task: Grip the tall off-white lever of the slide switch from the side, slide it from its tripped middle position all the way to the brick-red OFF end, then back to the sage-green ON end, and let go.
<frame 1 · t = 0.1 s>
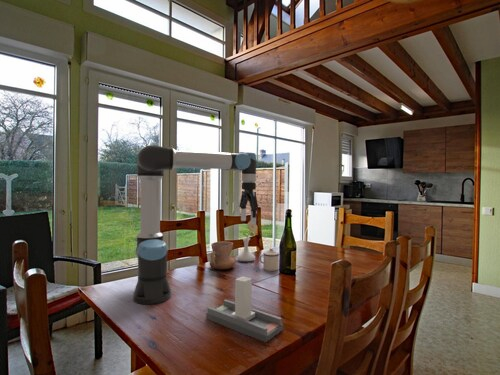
hand: (248, 222, 156), 28 cm above the table, tool pointing down, fingers open, 13 cm apart
teacup with lid: (268, 268, 169), on the table
switch base: (243, 324, 103), on the table
switch lever: (243, 298, 102), point 9 cm above the table, slide at 0.0 cm
ceramic jug: (221, 268, 168), on the table
flower in vase: (247, 260, 186), on the table
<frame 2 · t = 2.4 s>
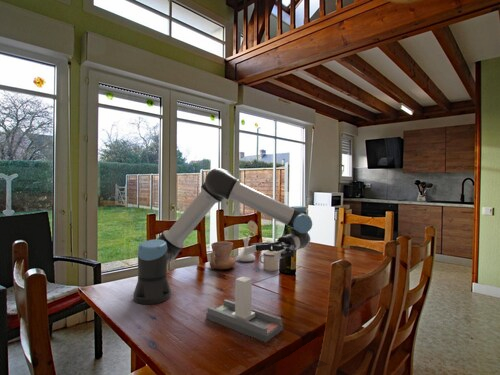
hand: (259, 254, 111), 22 cm above the table, tool horizontal, fingers open, 13 cm apart
nothing on the table moved.
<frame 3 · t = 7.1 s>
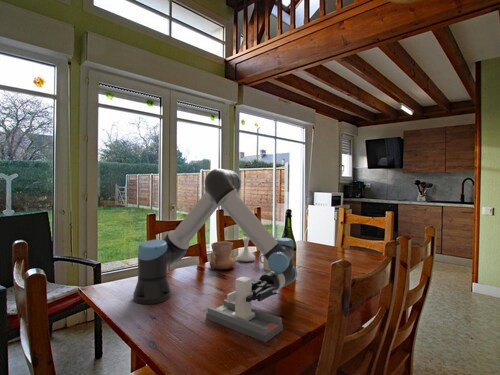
hand: (233, 300, 98), 10 cm above the table, tool horizontal, fingers closed on switch lever, 4 cm apart
switch lever: (243, 298, 102), point 9 cm above the table, slide at 0.0 cm, touching gripper
everything else where it was.
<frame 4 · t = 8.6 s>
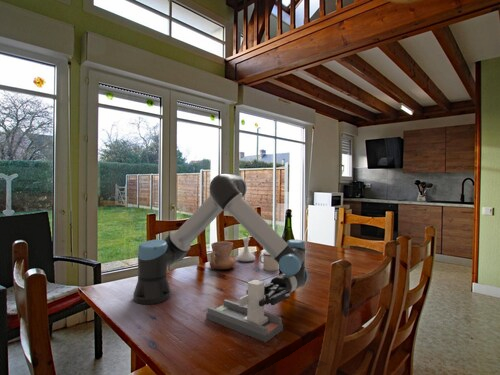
hand: (246, 304, 95), 10 cm above the table, tool horizontal, fingers closed on switch lever, 4 cm apart
switch lever: (255, 302, 99), point 9 cm above the table, slide at 5.3 cm, touching gripper
everything else where it was.
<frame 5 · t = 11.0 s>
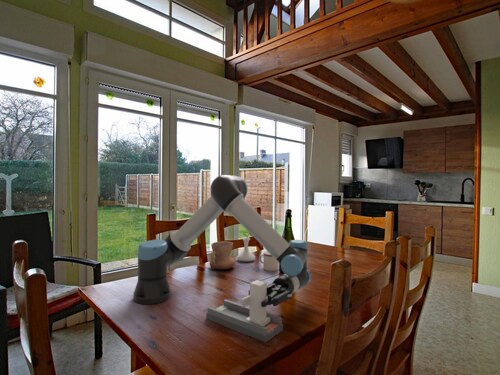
hand: (248, 305, 94), 10 cm above the table, tool horizontal, fingers closed on switch lever, 4 cm apart
switch lever: (258, 302, 99), point 9 cm above the table, slide at 6.2 cm, touching gripper
everything else where it was.
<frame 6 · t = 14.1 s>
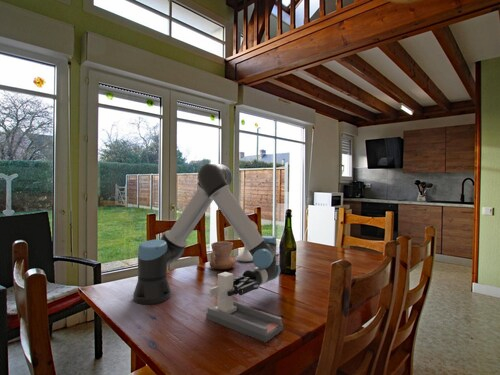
hand: (215, 294, 103), 10 cm above the table, tool horizontal, fingers closed on switch lever, 4 cm apart
switch lever: (225, 292, 108), point 9 cm above the table, slide at -8.4 cm, touching gripper
everything else where it was.
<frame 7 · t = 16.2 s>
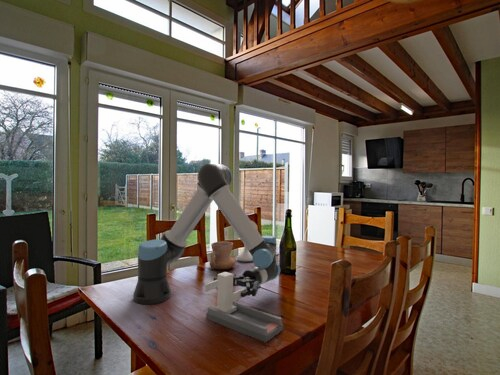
hand: (218, 292, 105), 10 cm above the table, tool horizontal, fingers open, 13 cm apart
switch lever: (225, 292, 108), point 9 cm above the table, slide at -8.4 cm
everything else where it was.
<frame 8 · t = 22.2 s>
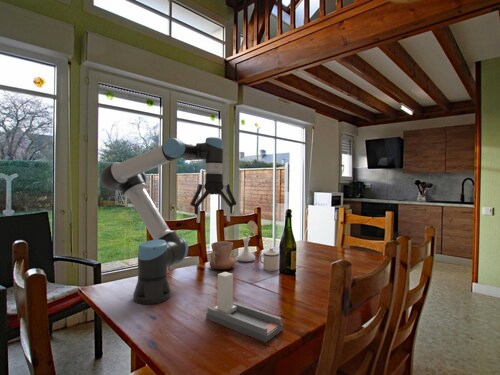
hand: (213, 221, 130), 32 cm above the table, tool pointing down, fingers open, 13 cm apart
nothing on the table moved.
at the end: switch lever slide at -8.4 cm; the gripper is holding nothing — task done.
